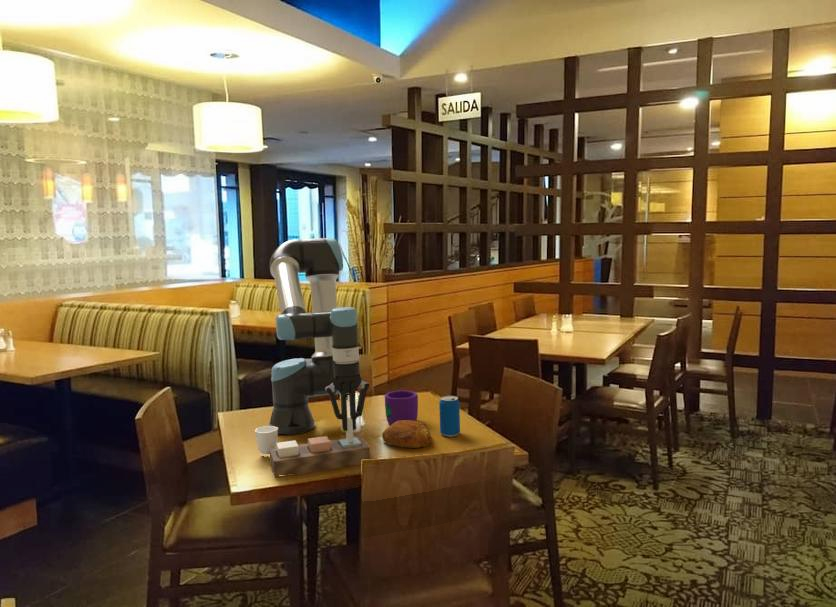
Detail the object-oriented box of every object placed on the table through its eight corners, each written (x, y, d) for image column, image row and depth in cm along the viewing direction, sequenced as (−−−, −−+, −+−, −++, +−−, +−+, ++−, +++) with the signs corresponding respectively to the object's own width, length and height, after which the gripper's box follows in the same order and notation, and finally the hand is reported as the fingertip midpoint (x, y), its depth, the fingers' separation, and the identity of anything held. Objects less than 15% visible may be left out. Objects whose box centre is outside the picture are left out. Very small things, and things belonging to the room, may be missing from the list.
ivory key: (279, 464, 176) (278, 448, 176) (277, 457, 182) (276, 442, 181) (299, 461, 178) (298, 446, 178) (296, 455, 183) (295, 440, 183)
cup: (258, 460, 187) (256, 434, 186) (252, 450, 196) (251, 425, 195) (282, 456, 189) (280, 430, 189) (275, 446, 199) (274, 421, 198)
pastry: (417, 459, 190) (420, 434, 188) (374, 445, 197) (376, 421, 196) (440, 443, 202) (442, 420, 201) (399, 430, 210) (400, 407, 208)
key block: (274, 477, 174) (273, 461, 173) (270, 463, 184) (269, 448, 183) (370, 462, 182) (369, 447, 182) (361, 450, 193) (360, 436, 192)
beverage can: (458, 437, 201) (457, 401, 200) (438, 437, 203) (437, 400, 201) (461, 431, 208) (460, 395, 206) (441, 430, 209) (440, 395, 208)
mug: (424, 424, 217) (423, 395, 216) (393, 429, 212) (392, 400, 211) (403, 411, 233) (402, 385, 231) (374, 416, 228) (373, 389, 227)
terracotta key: (311, 459, 179) (311, 444, 179) (308, 453, 184) (307, 438, 184) (330, 456, 181) (330, 441, 181) (327, 450, 186) (326, 436, 186)
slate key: (343, 460, 182) (342, 445, 182) (339, 454, 187) (338, 439, 187) (361, 457, 184) (361, 443, 184) (357, 451, 189) (356, 437, 189)
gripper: (326, 366, 177) (330, 447, 180) (371, 361, 181) (374, 441, 184) (321, 361, 184) (325, 440, 187) (364, 356, 188) (368, 434, 191)
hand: (349, 440), depth 185 cm, fingers closed
